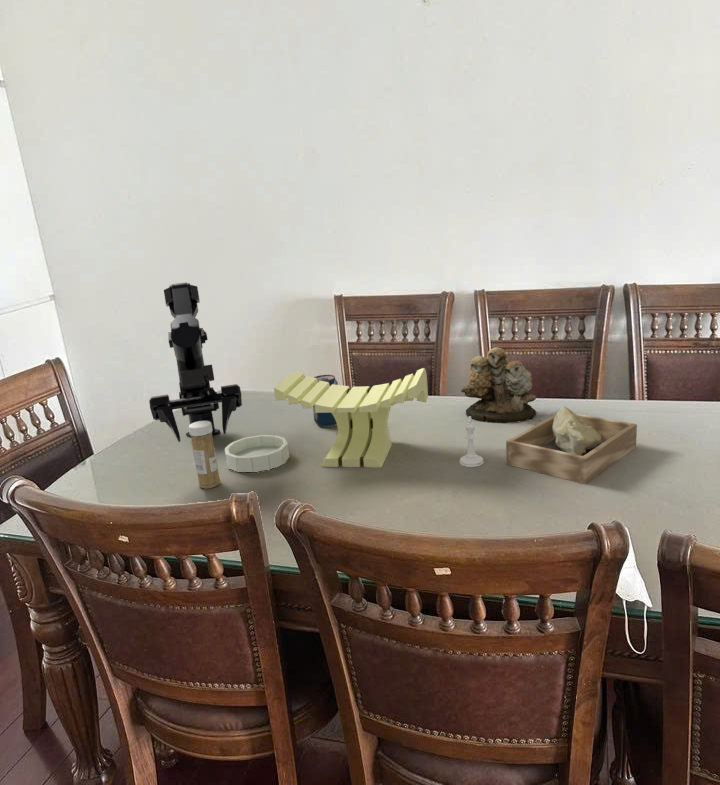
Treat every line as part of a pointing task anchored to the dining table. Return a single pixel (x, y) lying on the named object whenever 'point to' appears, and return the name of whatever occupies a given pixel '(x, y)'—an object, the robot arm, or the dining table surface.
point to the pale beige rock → (573, 433)
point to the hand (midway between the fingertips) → (202, 437)
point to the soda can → (325, 418)
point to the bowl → (256, 453)
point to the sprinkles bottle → (204, 454)
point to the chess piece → (471, 448)
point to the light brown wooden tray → (565, 465)
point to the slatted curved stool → (354, 413)
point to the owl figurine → (499, 389)
